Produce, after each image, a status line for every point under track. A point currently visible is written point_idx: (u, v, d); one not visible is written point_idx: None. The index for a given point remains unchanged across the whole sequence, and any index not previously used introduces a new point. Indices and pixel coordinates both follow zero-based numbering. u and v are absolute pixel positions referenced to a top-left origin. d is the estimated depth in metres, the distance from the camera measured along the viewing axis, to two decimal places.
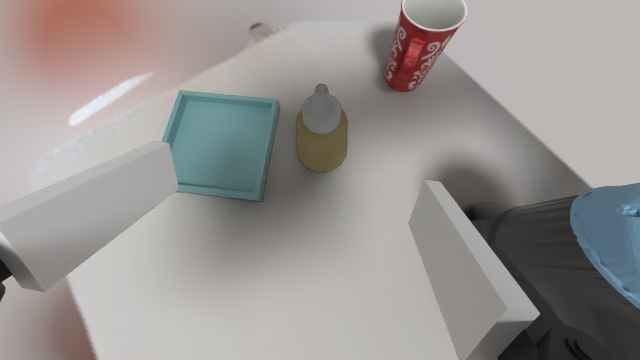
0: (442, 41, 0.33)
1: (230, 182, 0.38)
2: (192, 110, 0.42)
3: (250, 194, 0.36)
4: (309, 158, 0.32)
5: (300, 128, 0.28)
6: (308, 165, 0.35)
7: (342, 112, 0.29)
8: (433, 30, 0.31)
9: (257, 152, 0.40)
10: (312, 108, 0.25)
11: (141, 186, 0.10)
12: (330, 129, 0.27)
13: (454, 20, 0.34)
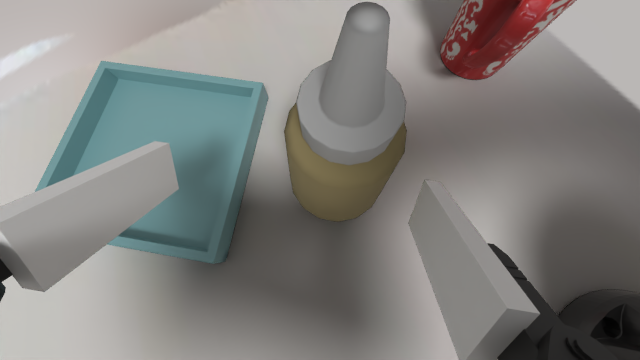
0: None
1: (172, 224, 0.22)
2: (123, 95, 0.26)
3: (200, 254, 0.19)
4: (312, 201, 0.15)
5: (292, 144, 0.12)
6: (310, 209, 0.18)
7: None
8: None
9: (224, 172, 0.23)
10: (327, 95, 0.09)
11: (141, 186, 0.10)
12: (372, 156, 0.10)
13: None
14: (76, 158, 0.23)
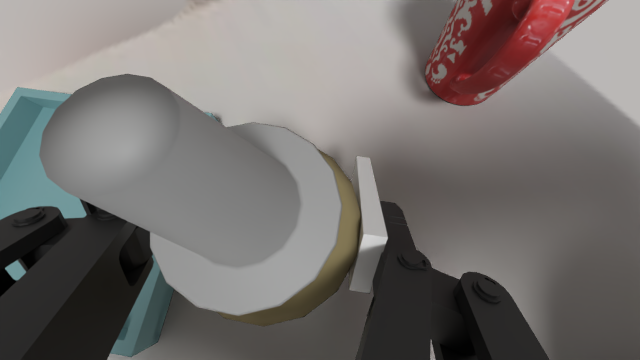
0: None
1: None
2: None
3: (115, 344, 0.15)
4: None
5: None
6: None
7: (344, 189, 0.08)
8: None
9: None
10: None
11: None
12: None
13: None
14: None
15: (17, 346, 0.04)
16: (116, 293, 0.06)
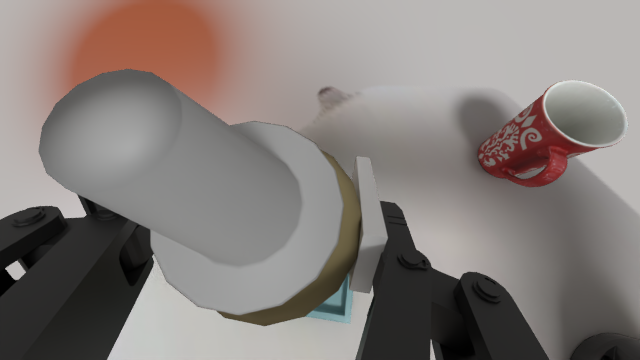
0: None
1: None
2: None
3: (340, 318, 0.30)
4: None
5: None
6: None
7: (346, 188, 0.08)
8: (590, 146, 0.25)
9: None
10: None
11: None
12: None
13: (600, 122, 0.28)
14: None
15: (17, 346, 0.04)
16: (116, 293, 0.06)
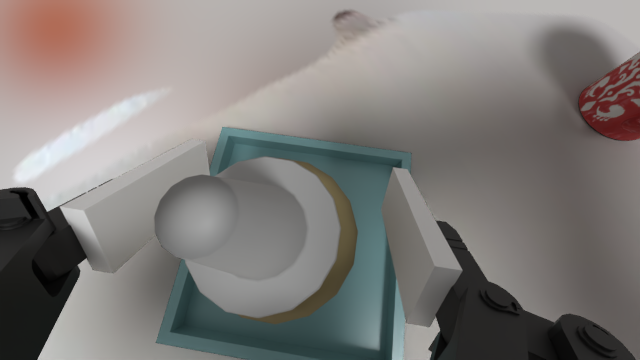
0: None
1: (327, 326, 0.19)
2: None
3: None
4: None
5: None
6: None
7: (343, 206, 0.09)
8: None
9: (375, 258, 0.20)
10: None
11: None
12: None
13: None
14: None
15: None
16: (33, 304, 0.06)
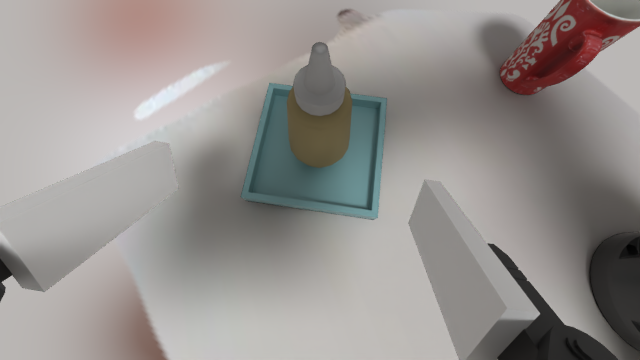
0: (622, 35, 0.27)
1: (335, 195, 0.32)
2: (281, 106, 0.36)
3: (368, 212, 0.30)
4: (303, 148, 0.26)
5: (291, 108, 0.22)
6: (302, 158, 0.28)
7: (346, 90, 0.23)
8: (627, 20, 0.25)
9: (364, 160, 0.33)
10: (307, 79, 0.19)
11: (141, 186, 0.10)
12: (330, 110, 0.20)
13: (633, 10, 0.28)
14: (261, 151, 0.33)
15: None
16: None
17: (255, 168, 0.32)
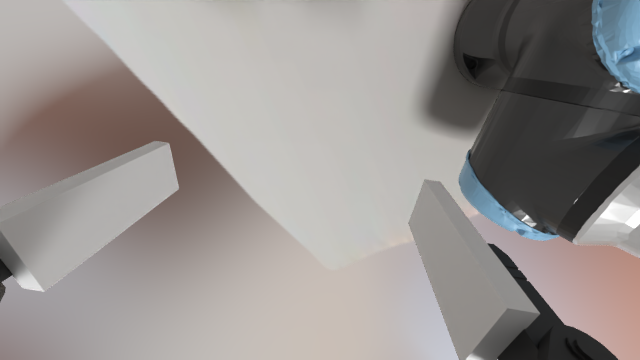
0: None
1: None
2: None
3: None
4: None
5: None
6: None
7: None
8: None
9: None
10: None
11: (141, 186, 0.10)
12: None
13: None
14: None
15: None
16: None
17: None
